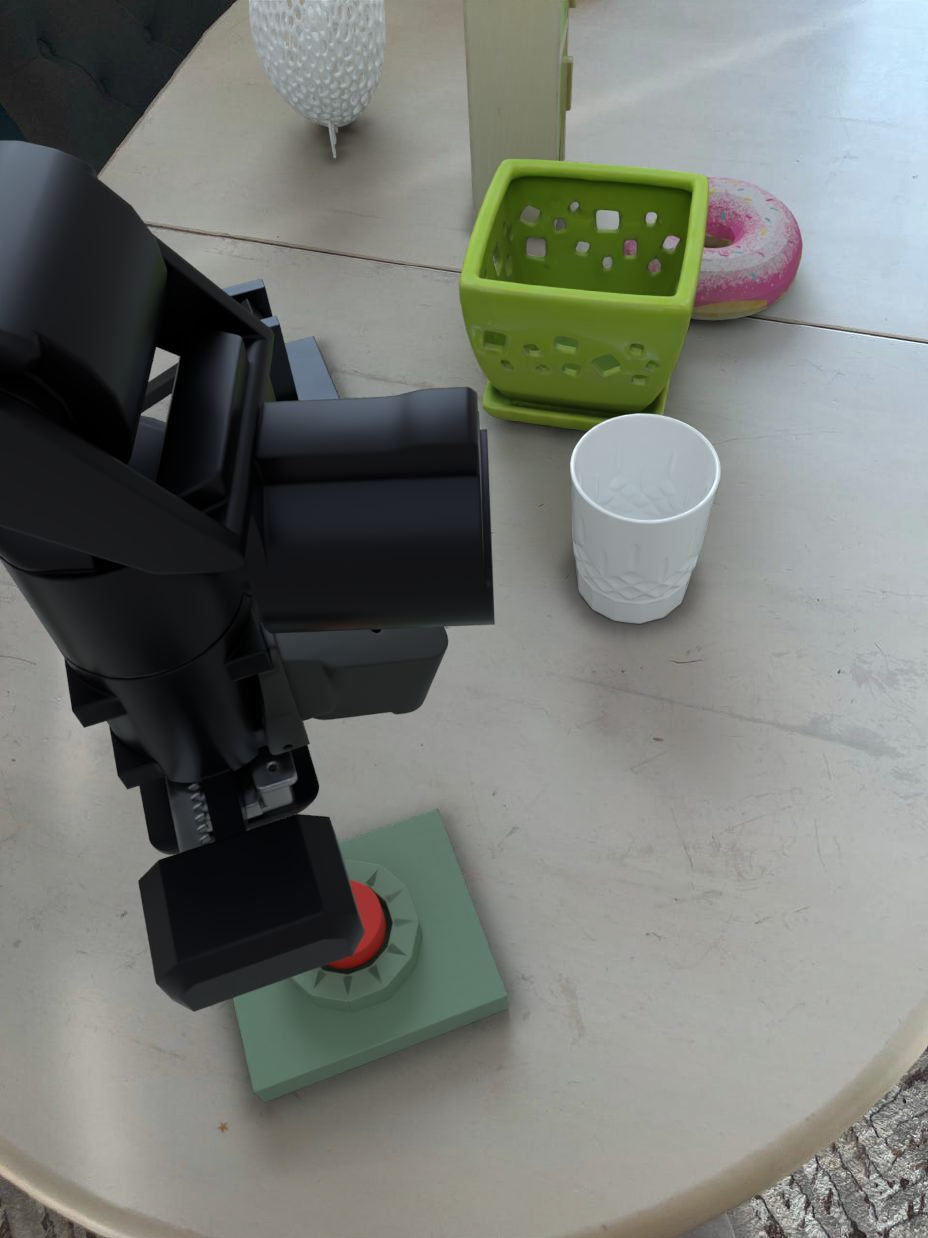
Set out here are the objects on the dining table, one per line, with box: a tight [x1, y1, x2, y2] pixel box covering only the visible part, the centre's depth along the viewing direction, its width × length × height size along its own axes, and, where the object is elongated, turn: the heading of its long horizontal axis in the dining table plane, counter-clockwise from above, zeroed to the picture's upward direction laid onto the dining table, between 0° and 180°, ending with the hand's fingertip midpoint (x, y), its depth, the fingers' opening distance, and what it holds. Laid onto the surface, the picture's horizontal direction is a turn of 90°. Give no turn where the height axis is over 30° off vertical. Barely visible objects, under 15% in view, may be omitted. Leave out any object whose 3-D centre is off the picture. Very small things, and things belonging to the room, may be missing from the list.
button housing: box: [232, 808, 509, 1103], centre depth 51 cm, size 12×10×4 cm
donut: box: [624, 176, 803, 321], centre depth 78 cm, size 14×13×5 cm
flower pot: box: [458, 159, 709, 432], centre depth 69 cm, size 14×14×13 cm
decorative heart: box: [248, 0, 387, 159], centre depth 88 cm, size 18×11×17 cm, turn 179°
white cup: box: [569, 414, 722, 625], centre depth 60 cm, size 8×8×10 cm
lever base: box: [221, 278, 341, 402], centre depth 71 cm, size 10×10×9 cm
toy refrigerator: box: [462, 0, 578, 230], centre depth 78 cm, size 8×7×21 cm
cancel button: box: [327, 880, 386, 969], centre depth 48 cm, size 4×4×2 cm
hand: (257, 819), depth 44 cm, fingers closed
